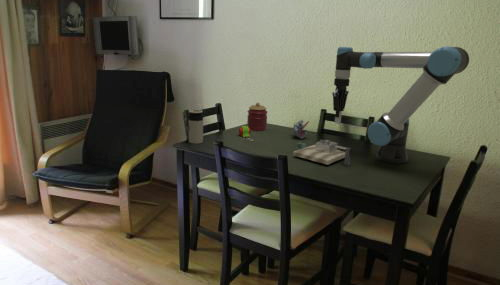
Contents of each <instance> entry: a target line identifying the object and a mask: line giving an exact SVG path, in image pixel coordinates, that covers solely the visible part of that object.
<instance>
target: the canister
mask: <svg viewBox="0 0 500 285" xmlns="http://www.w3.org/2000/svg"><path fill="white" fill-rule="evenodd" d="M247 113H248V114H247V124H246V126H248V128H250V131H251V130H253V131H252V132H265V131H266V130H267V127H268V125H267V124H268V111H267V107H266V106H264V105H262V104H261V105H260V102H256V103H255V104H253V105H251V106H249V107H248V110H247ZM264 130H265V131H264Z"/></svg>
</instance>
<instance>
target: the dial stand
mask: <svg viewBox="0 0 500 285" xmlns="http://www.w3.org/2000/svg"><path fill="white" fill-rule="evenodd" d="M335 147H337V149H342V150H345V151H344V152H345V158H344V164H343V165H344V166H347V167H348V166H350V165H351V157H352V156H351V155H352V148H350V147H345V146H341V145H338V144H337V145H336V146H335Z"/></svg>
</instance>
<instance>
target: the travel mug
mask: <svg viewBox="0 0 500 285" xmlns="http://www.w3.org/2000/svg"><path fill="white" fill-rule="evenodd" d="M203 112H204V111H203V110H201V109H190V110H188V113H189V115H188V143H190V144H201V143H203V142H204V116H203Z"/></svg>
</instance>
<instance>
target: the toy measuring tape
mask: <svg viewBox="0 0 500 285" xmlns="http://www.w3.org/2000/svg"><path fill="white" fill-rule="evenodd" d="M238 133H239V135H240V136H241V137H242V136H243V137H244V138H245V137H250V138H251V136H250V135H251V130H250V128H248V126H247V125H242V126H240V128H239V129H238ZM243 137H242V138H243ZM245 139H246V138H245ZM248 140H249V142H250V141H251V142H254V139H251V140H250V139H248Z"/></svg>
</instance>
